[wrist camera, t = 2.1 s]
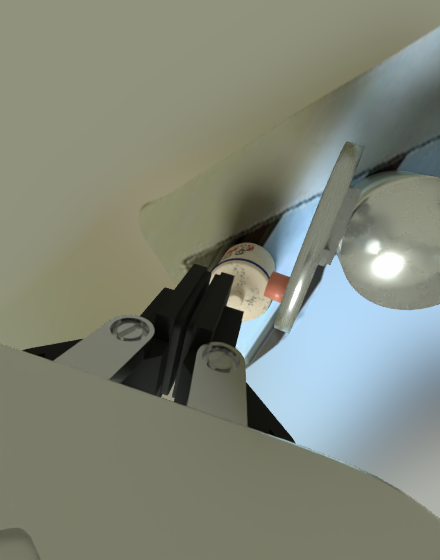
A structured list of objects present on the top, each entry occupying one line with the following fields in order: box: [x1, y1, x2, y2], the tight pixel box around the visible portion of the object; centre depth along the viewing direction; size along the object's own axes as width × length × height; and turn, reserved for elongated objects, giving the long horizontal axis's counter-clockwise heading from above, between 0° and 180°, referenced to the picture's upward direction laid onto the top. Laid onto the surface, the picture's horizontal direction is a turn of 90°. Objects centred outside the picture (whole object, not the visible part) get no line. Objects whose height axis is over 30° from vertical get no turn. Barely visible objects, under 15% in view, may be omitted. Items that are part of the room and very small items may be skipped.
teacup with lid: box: [209, 243, 275, 321], centre depth 43 cm, size 12×9×12 cm
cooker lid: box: [264, 142, 365, 334], centre depth 25 cm, size 16×15×3 cm
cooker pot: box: [318, 170, 440, 310], centre depth 35 cm, size 21×14×12 cm, turn 77°
